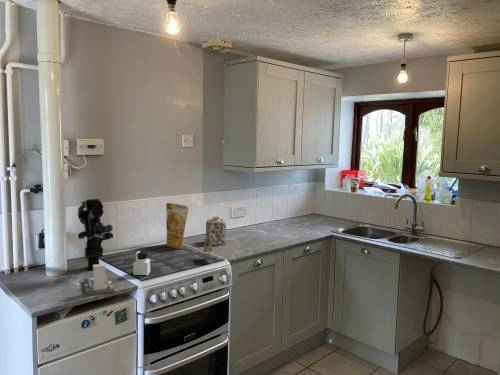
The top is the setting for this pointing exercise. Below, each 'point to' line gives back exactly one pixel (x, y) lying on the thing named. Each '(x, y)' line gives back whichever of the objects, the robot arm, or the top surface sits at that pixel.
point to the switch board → (89, 290)
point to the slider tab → (99, 277)
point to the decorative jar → (216, 231)
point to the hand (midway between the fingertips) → (97, 252)
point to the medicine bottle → (141, 263)
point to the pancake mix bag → (175, 224)
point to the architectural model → (205, 250)
